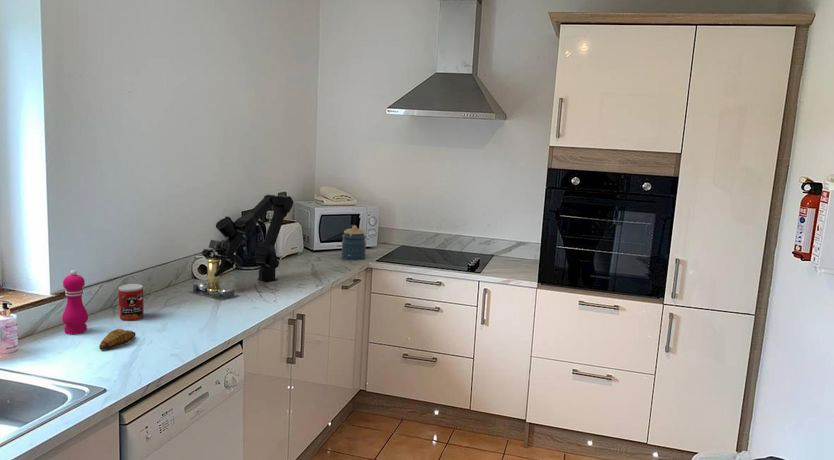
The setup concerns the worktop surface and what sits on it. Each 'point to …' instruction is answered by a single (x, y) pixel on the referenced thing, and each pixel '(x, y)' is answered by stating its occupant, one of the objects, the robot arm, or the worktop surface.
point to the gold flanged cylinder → (212, 268)
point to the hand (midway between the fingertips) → (210, 275)
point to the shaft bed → (220, 295)
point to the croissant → (116, 338)
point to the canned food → (131, 302)
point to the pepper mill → (74, 305)
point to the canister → (354, 243)
